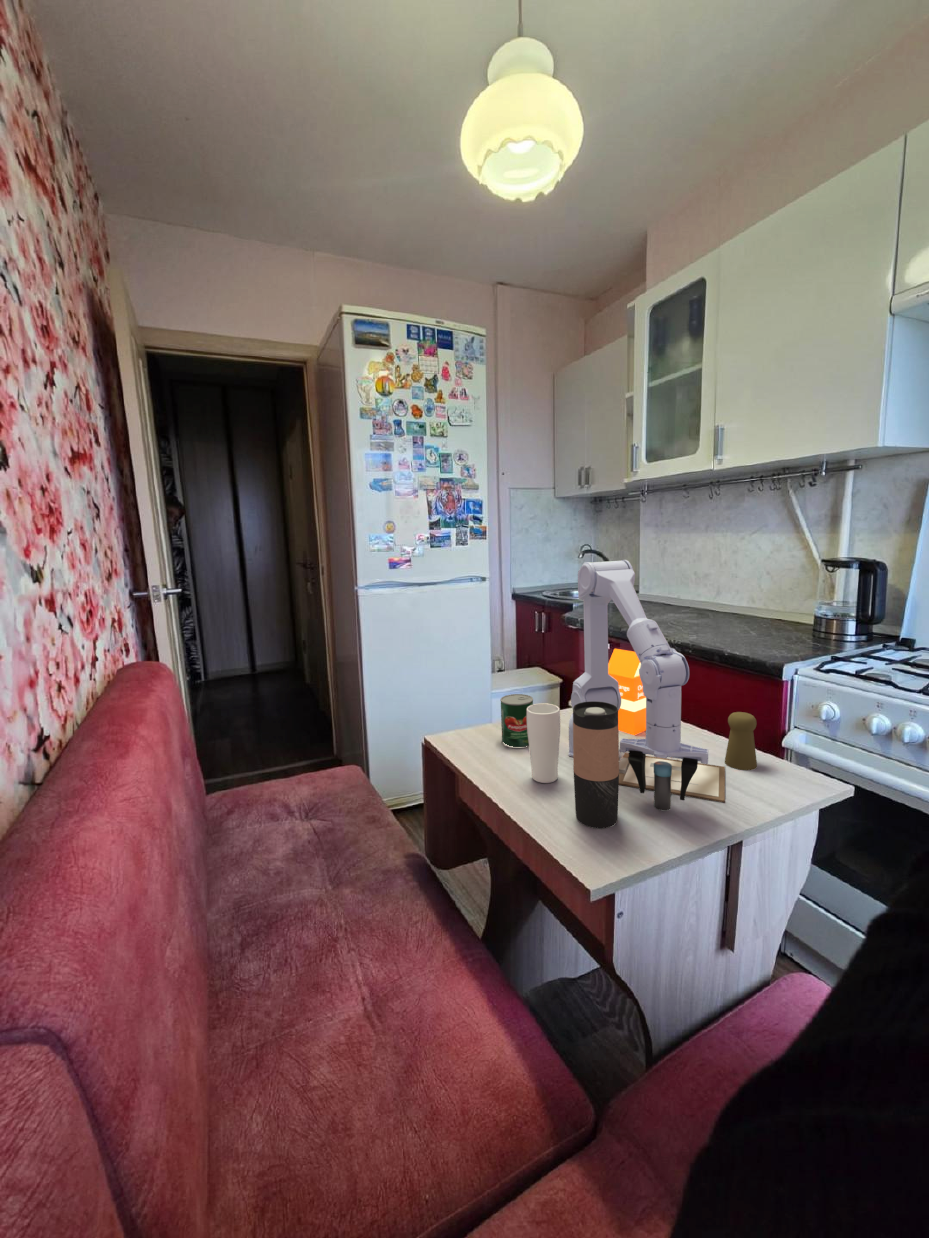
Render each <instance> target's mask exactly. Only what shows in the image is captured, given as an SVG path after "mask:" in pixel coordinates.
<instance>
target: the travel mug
mask: <svg viewBox="0 0 929 1238" xmlns="http://www.w3.org/2000/svg"><path fill="white" fill-rule="evenodd" d="M572 713H573V756H572V757H573V758H572V760H573V763H572V765H573V768H572V769H573V787H574V788H573V789H574V806H575V807H574V809H575V817H576V820H577V821H578V822H579V823H580V824H581V825H583V826H585V827H587V828H592V829H601V830H602V829H608V828H609V829H610V828H611V827H614V826H615V825H616V823H617V822H618V819H619V818H618V816H619V794H620V793H619V790H620V789H619V788H620V787H619V786H620V785H619V761H620V753H619V752H620V741H619V738H620V736H619V734H620V733H619V730H618V708H617V707H616V706H614V705H612V704H609V703H605V702H596V701H591V702H582V703H578V704H576V705H575V706H574V707H573V708H572Z"/></svg>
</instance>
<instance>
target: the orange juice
mask: <svg viewBox="0 0 929 1238" xmlns="http://www.w3.org/2000/svg"><path fill="white" fill-rule="evenodd" d="M640 666H641V663H640V661H639V659H638V657H637V655H636V653H635V651H632V650H626V649H619V648H614V649H613V652H612V654H611V656H610V659H609V660H608V674H609V675H610V676H612V677H613V678H615V679H616V680H617V681H618V684H619V692H620V695H621V707H620V709H619V711H618V731H620V732H622V733H626V734H629V735H632V736H636V735H639V734H641V733H644V732H646V697H645V696H644V693H643V685H642V682H641V679H640V675H639V669H640Z"/></svg>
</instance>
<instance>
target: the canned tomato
mask: <svg viewBox="0 0 929 1238" xmlns="http://www.w3.org/2000/svg"><path fill="white" fill-rule="evenodd" d="M533 704H534V698H533V697H532V696H531V695H528V694H525V693H524V694H523V693H514V694H507V695H504V696H502V697H501V698H500V718H501V719H500V720H501V721H500V722H501V743H502V742H504V743H505V744H507V745H509V746H513V747H526V746H529V742H528V734H527V720H526V714H527V707H528V706H530V705H533ZM526 748H527V747H526Z"/></svg>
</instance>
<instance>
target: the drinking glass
mask: <svg viewBox="0 0 929 1238" xmlns="http://www.w3.org/2000/svg"><path fill="white" fill-rule="evenodd" d="M526 720H527V734H528V742H529V747H528V749H529V751H528V752H529V756H530V766H531V777H532V779H533V781H536V782H537V783H540V784H541V783H542V784H550V783H553V782H556V781H557V779H558V778H559V777H558V776H559V769H558V768H559V754H560V738H561V708H560V707H559V706H558V705H556V704H552V703H543V702H542V703H533V705H530V706H528V707H527V714H526Z"/></svg>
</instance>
